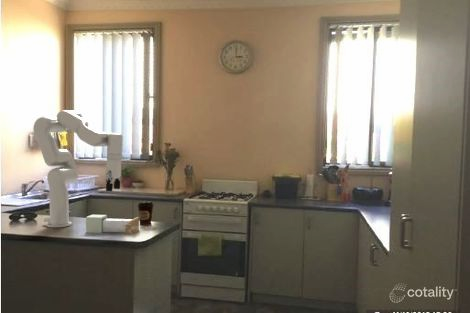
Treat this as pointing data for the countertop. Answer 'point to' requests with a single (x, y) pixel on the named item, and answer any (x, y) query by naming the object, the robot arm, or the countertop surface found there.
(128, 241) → the countertop surface
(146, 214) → the coffee cup
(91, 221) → the pale green cube
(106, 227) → the white rectangular block
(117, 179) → the robot arm
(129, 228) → the beige block
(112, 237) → the countertop surface
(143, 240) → the countertop surface
